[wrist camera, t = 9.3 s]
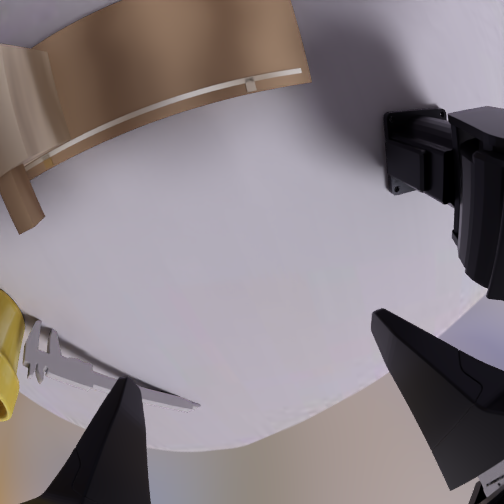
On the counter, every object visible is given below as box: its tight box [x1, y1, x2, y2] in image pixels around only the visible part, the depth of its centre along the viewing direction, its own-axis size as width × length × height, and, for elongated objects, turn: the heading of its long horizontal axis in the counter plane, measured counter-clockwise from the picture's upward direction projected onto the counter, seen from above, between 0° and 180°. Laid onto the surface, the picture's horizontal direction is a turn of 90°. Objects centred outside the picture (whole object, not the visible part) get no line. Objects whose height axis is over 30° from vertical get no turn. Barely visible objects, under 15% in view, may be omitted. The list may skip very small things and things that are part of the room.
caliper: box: [23, 320, 201, 413], centre depth 23 cm, size 20×1×6 cm, turn 43°
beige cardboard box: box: [0, 44, 71, 235], centre depth 10 cm, size 4×9×5 cm, turn 13°
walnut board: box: [24, 0, 312, 180], centre depth 13 cm, size 20×8×2 cm, turn 103°
